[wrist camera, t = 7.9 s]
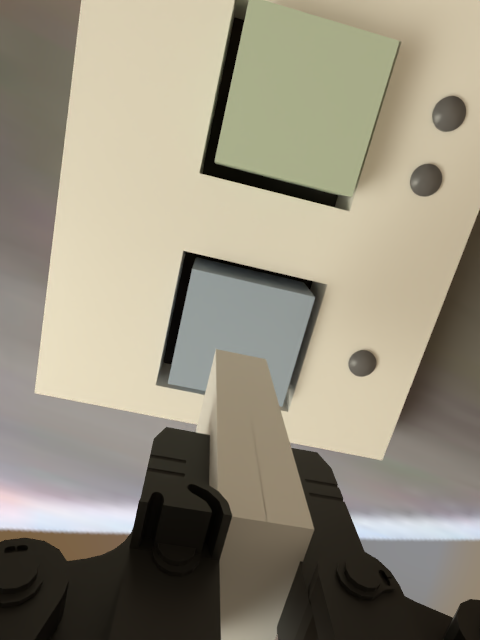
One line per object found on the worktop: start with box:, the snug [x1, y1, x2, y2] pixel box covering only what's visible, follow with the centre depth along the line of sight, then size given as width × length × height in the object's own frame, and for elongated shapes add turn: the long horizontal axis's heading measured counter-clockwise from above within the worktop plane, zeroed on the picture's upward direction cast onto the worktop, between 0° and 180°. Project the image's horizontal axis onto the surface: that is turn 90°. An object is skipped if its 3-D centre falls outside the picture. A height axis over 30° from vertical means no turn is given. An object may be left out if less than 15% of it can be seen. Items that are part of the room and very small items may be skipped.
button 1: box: [168, 257, 315, 407], centre depth 20 cm, size 5×5×3 cm
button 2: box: [214, 0, 400, 197], centre depth 16 cm, size 5×5×3 cm
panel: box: [35, 0, 480, 460], centre depth 17 cm, size 16×27×3 cm, turn 166°
